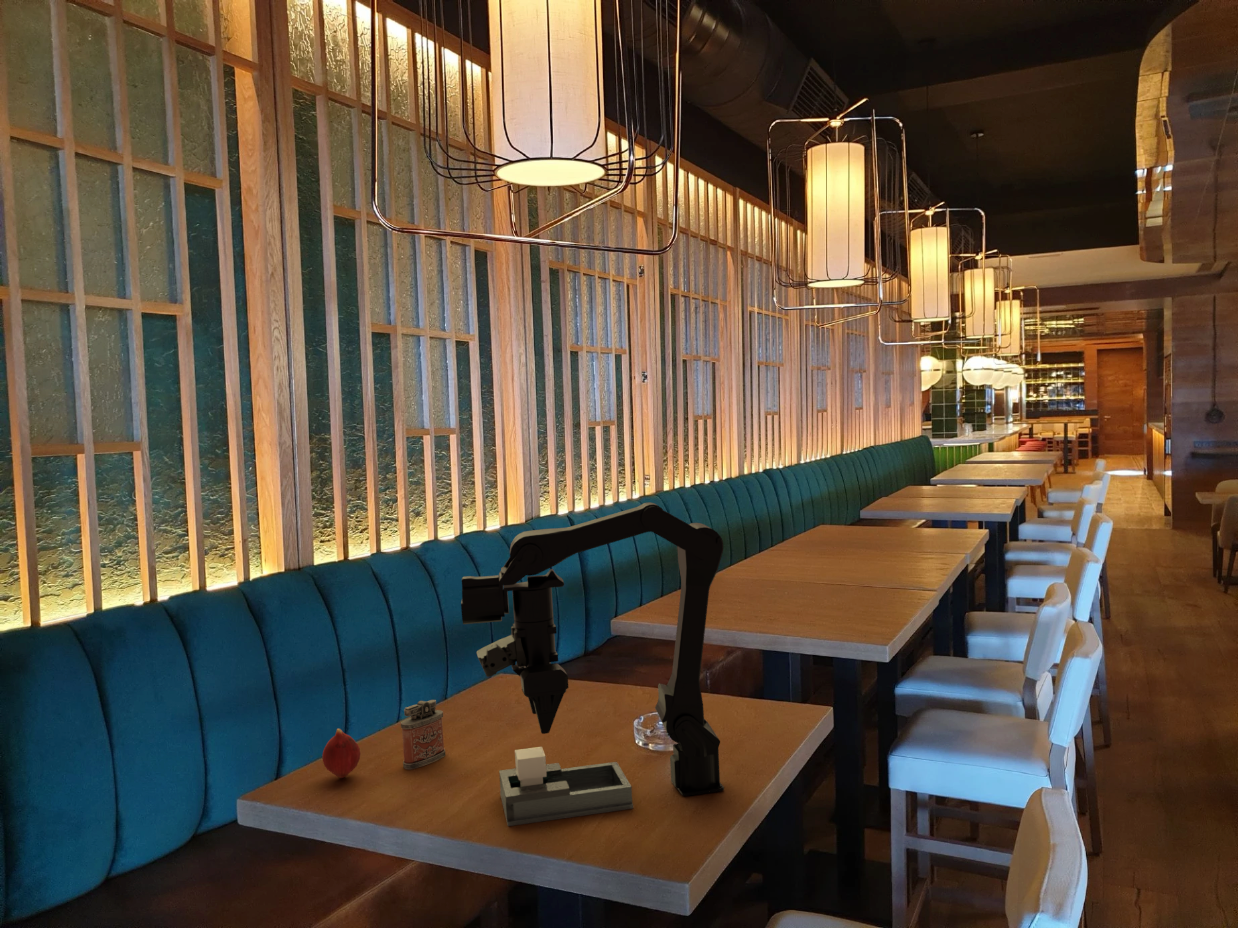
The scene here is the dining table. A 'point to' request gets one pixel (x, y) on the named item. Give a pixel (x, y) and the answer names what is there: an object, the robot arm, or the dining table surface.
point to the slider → (530, 766)
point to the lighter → (422, 735)
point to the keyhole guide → (565, 793)
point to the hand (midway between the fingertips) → (540, 722)
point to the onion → (341, 754)
